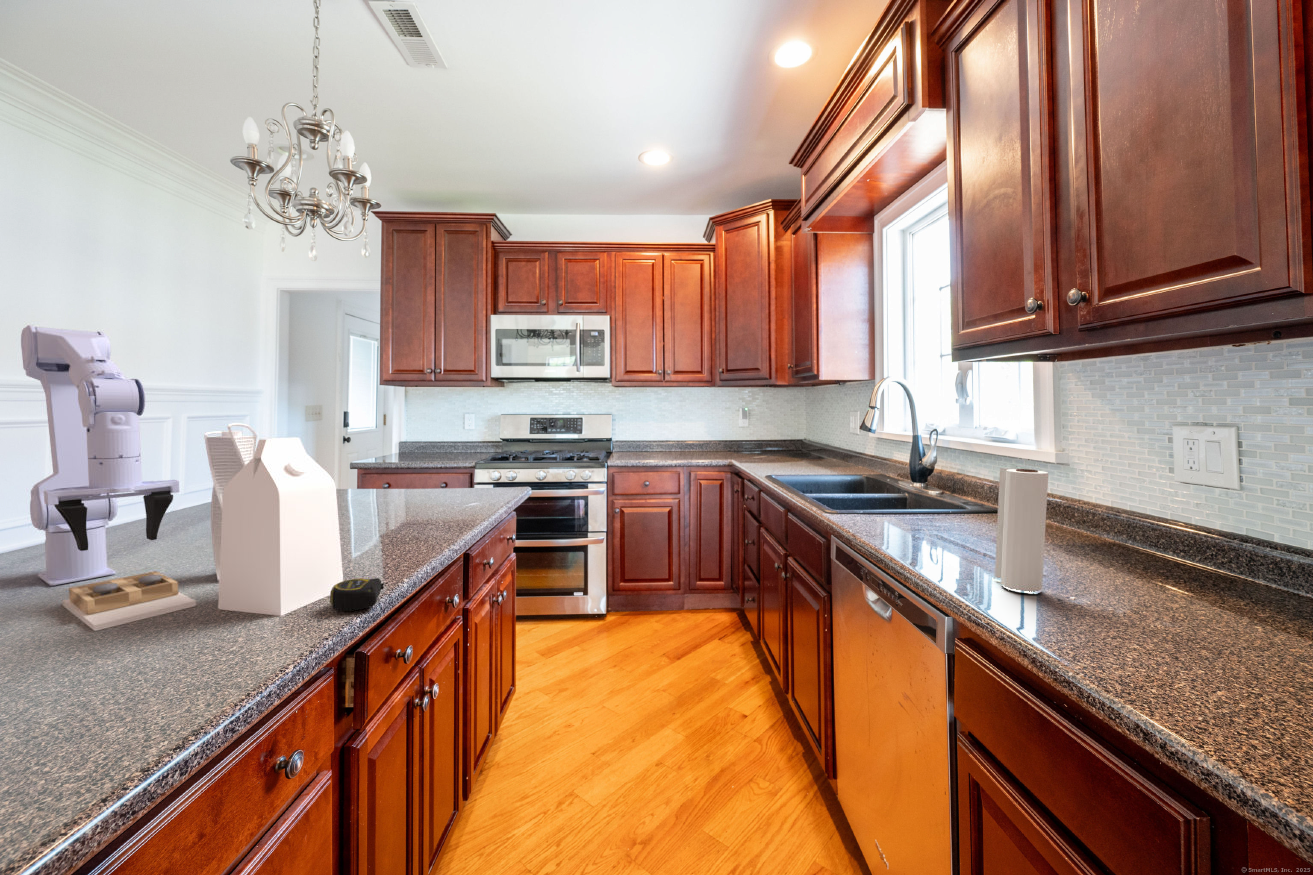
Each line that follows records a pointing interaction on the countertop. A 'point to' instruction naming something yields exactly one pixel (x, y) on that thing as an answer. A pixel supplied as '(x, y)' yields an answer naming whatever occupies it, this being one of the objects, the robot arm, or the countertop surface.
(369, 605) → the tape measure
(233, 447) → the skyscraper
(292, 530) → the milk
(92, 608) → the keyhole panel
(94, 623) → the mounting plate
